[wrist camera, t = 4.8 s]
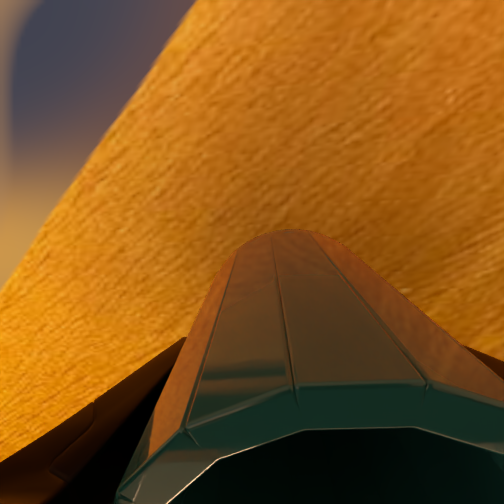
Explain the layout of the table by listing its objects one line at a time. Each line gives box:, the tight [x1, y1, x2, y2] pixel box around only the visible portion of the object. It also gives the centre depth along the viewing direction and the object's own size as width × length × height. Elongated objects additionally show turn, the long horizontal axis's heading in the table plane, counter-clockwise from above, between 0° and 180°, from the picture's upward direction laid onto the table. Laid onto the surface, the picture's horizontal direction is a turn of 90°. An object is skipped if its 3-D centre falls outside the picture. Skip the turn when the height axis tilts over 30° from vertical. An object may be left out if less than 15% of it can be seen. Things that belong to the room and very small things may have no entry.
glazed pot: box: [113, 229, 504, 504], centre depth 7 cm, size 7×7×8 cm
